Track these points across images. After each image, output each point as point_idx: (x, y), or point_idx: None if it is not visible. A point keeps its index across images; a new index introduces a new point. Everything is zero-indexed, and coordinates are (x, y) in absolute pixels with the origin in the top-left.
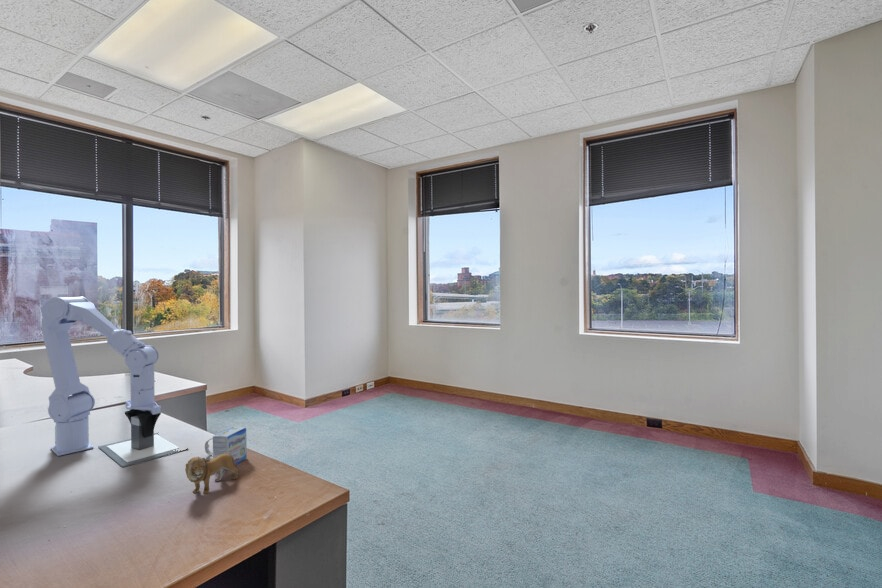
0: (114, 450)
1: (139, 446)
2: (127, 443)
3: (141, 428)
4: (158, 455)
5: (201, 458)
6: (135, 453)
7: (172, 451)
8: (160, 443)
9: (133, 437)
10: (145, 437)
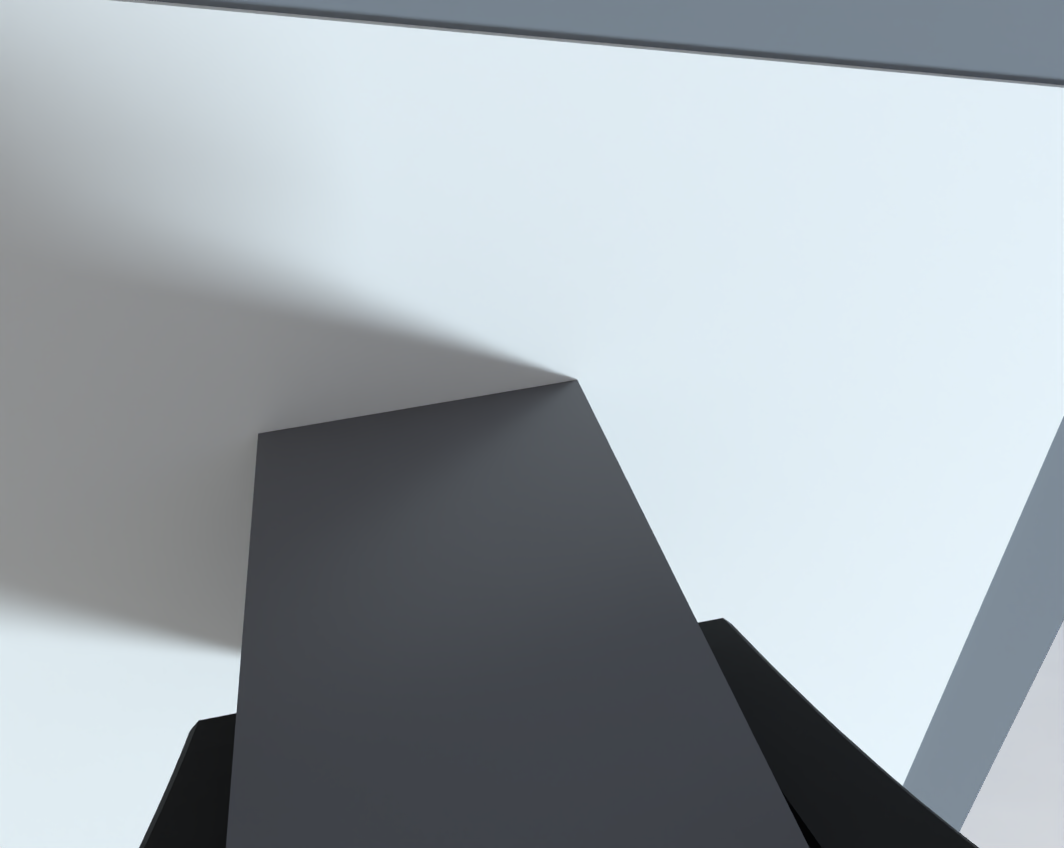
0: (746, 94)
1: (261, 491)
2: (921, 414)
3: None
4: None
5: None
6: (91, 325)
7: None
8: None
9: (534, 555)
10: (191, 737)
